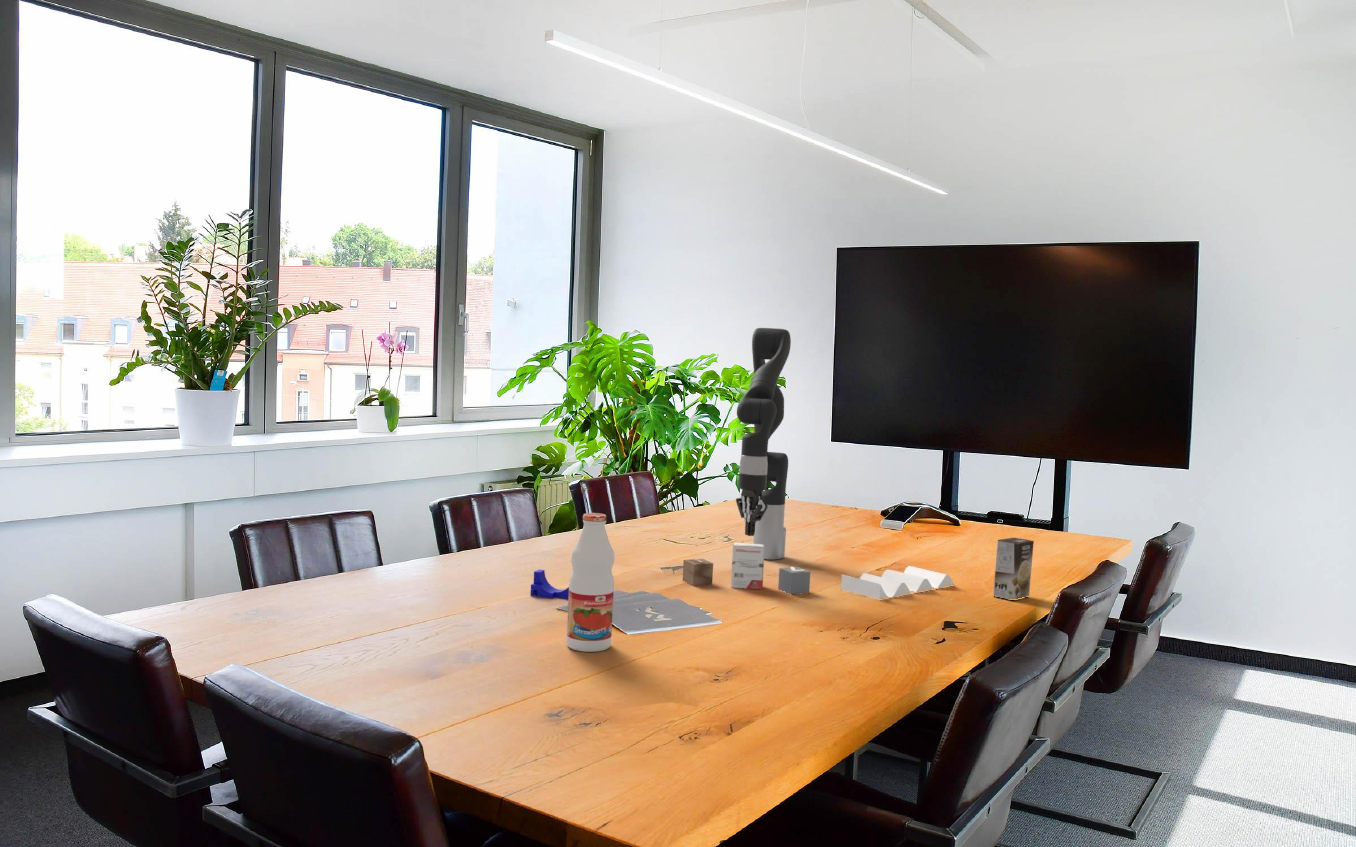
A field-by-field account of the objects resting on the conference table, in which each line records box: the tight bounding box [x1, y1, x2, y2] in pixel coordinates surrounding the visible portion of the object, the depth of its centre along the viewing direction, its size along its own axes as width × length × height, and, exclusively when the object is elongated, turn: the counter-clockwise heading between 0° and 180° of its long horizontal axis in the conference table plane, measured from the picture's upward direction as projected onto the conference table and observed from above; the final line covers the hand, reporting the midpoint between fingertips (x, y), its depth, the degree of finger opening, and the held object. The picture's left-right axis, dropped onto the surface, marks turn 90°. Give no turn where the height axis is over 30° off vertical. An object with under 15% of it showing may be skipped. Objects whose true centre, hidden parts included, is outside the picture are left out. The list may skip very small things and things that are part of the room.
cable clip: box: [529, 569, 569, 600], centre depth 248 cm, size 12×4×6 cm, turn 73°
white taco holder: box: [840, 565, 955, 599], centre depth 278 cm, size 13×35×5 cm, turn 131°
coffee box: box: [992, 537, 1035, 599], centre depth 273 cm, size 9×6×16 cm
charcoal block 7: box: [777, 566, 811, 595], centre depth 267 cm, size 6×6×6 cm
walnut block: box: [682, 558, 714, 587], centre depth 271 cm, size 6×6×6 cm
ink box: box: [730, 542, 765, 591], centre depth 269 cm, size 9×5×12 cm, turn 84°
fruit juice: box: [566, 512, 615, 653], centre depth 207 cm, size 9×9×28 cm
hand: (749, 535), depth 269 cm, fingers closed
